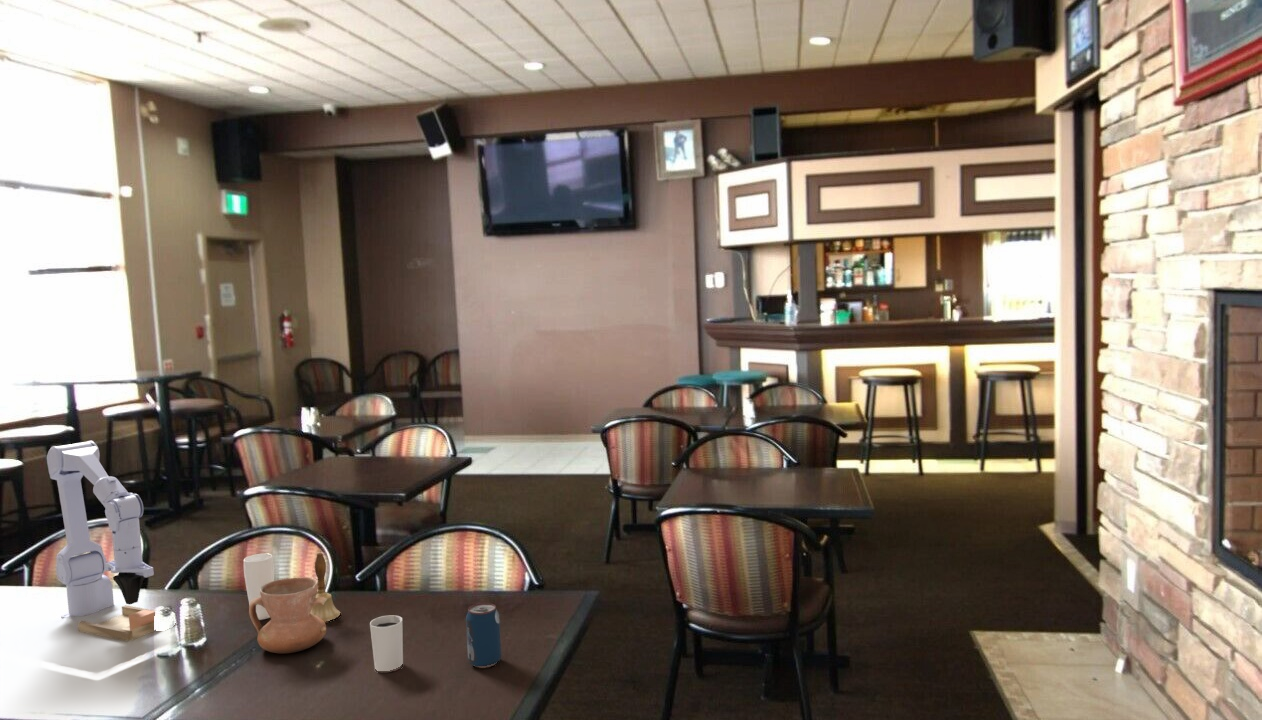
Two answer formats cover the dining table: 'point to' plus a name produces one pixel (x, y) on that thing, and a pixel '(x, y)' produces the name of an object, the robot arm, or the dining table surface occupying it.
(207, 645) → the dining table surface
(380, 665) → the white cup
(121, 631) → the shallow wooden tray
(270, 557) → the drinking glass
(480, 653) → the soda can
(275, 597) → the ceramic jug
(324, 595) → the hand bell
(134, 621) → the terracotta block
